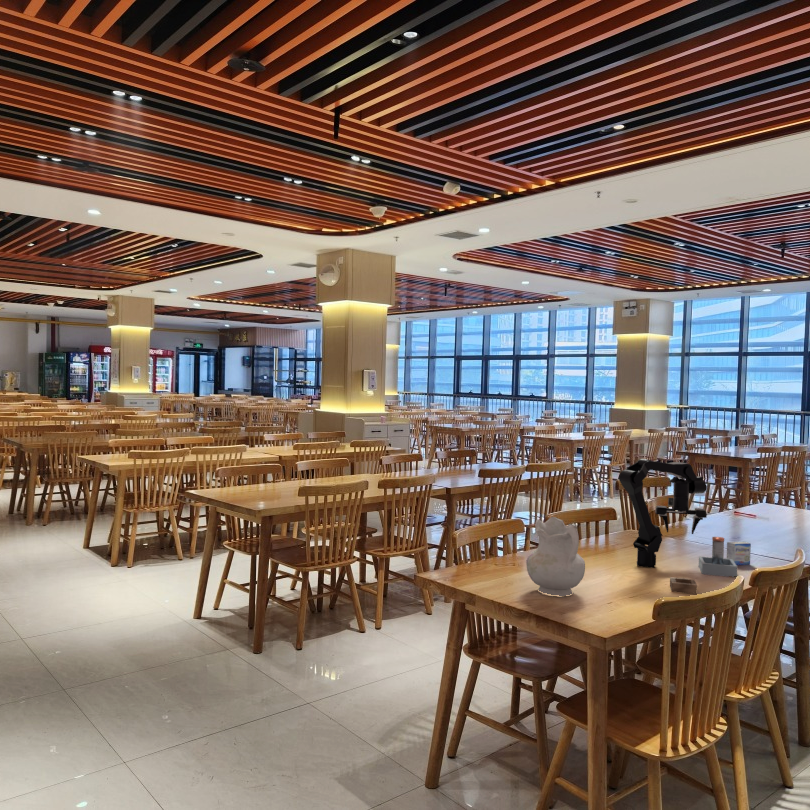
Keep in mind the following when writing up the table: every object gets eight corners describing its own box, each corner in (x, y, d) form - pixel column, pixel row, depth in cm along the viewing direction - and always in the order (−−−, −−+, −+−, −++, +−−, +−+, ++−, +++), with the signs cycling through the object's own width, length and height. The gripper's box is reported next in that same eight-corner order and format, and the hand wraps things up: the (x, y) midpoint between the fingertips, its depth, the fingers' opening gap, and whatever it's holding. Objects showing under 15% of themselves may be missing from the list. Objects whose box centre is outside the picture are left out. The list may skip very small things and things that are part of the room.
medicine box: (733, 565, 278) (734, 544, 278) (725, 562, 283) (726, 541, 282) (750, 564, 281) (751, 543, 280) (742, 562, 285) (743, 540, 285)
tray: (702, 574, 264) (702, 563, 264) (698, 566, 276) (698, 556, 276) (736, 577, 261) (737, 566, 261) (731, 569, 272) (732, 559, 272)
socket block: (671, 591, 240) (671, 582, 239) (669, 585, 247) (670, 577, 247) (696, 594, 237) (697, 585, 237) (694, 587, 245) (694, 579, 245)
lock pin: (722, 571, 265) (722, 539, 265) (710, 569, 268) (711, 537, 267) (724, 568, 269) (725, 537, 268) (712, 567, 271) (713, 536, 271)
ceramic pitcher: (601, 601, 230) (607, 525, 231) (558, 605, 219) (565, 525, 220) (553, 585, 248) (559, 514, 249) (512, 588, 238) (518, 514, 238)
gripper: (704, 492, 285) (702, 531, 285) (655, 489, 290) (654, 527, 291) (707, 496, 274) (706, 536, 275) (656, 493, 279) (655, 532, 280)
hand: (679, 533), depth 280 cm, fingers open, 9 cm apart
